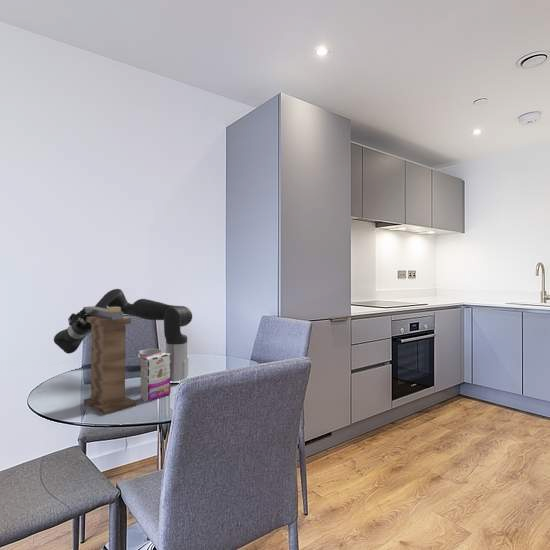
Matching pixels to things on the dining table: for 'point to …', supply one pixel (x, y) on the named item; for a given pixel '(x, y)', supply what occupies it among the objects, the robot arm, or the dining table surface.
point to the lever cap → (105, 312)
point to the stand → (108, 365)
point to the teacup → (147, 353)
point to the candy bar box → (155, 376)
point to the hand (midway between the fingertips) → (96, 310)
